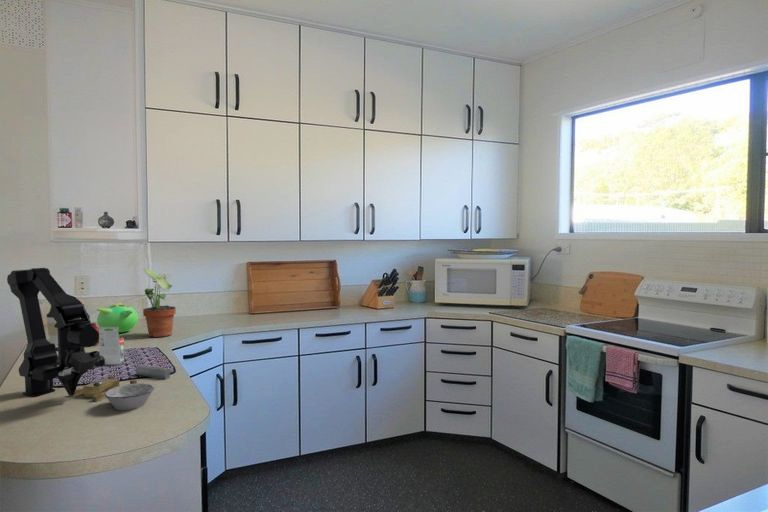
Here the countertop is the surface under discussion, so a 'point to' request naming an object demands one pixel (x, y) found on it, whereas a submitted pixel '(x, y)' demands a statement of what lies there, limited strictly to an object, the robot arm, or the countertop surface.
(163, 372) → the bench stop
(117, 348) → the ink box
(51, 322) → the coffee cup
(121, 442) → the countertop surface
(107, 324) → the toy bird
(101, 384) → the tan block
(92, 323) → the fruit
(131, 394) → the bowl
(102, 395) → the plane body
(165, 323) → the potted plant
